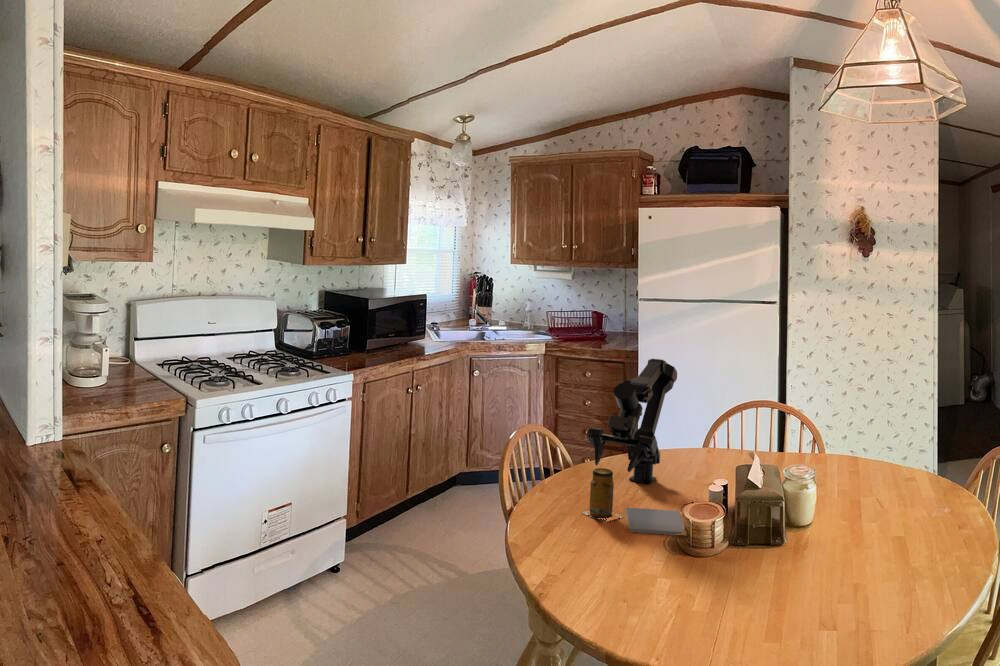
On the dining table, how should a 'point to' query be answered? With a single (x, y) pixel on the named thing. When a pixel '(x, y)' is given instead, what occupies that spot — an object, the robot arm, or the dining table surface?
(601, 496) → the condiment
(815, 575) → the dining table surface
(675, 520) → the slate tile
